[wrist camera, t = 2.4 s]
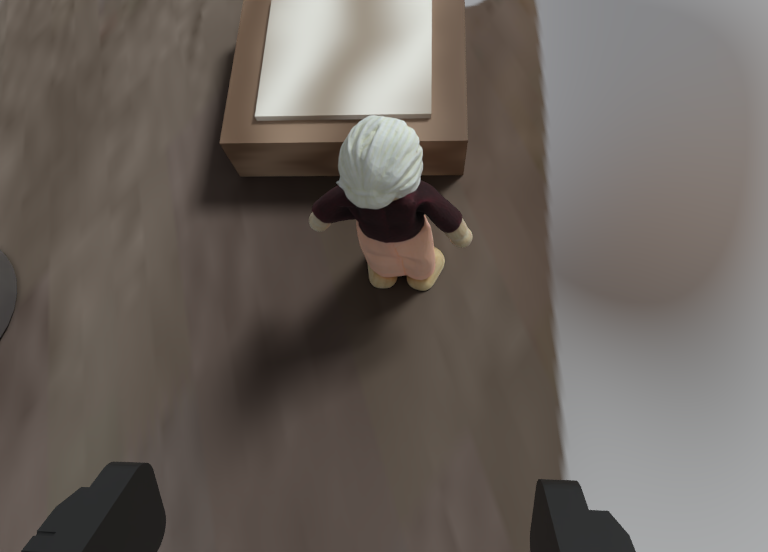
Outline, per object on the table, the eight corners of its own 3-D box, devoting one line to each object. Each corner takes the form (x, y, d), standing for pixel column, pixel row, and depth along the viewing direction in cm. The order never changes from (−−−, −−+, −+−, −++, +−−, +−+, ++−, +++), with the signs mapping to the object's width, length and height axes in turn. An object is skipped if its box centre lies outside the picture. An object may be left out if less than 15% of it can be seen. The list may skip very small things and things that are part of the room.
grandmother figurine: (458, 230, 31) (479, 80, 19) (465, 291, 29) (494, 172, 18) (328, 241, 31) (270, 100, 19) (330, 302, 30) (268, 192, 18)
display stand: (240, 176, 33) (216, 139, 29) (262, 29, 37) (243, -20, 34) (463, 175, 32) (468, 136, 28) (460, 23, 36) (464, -28, 32)
